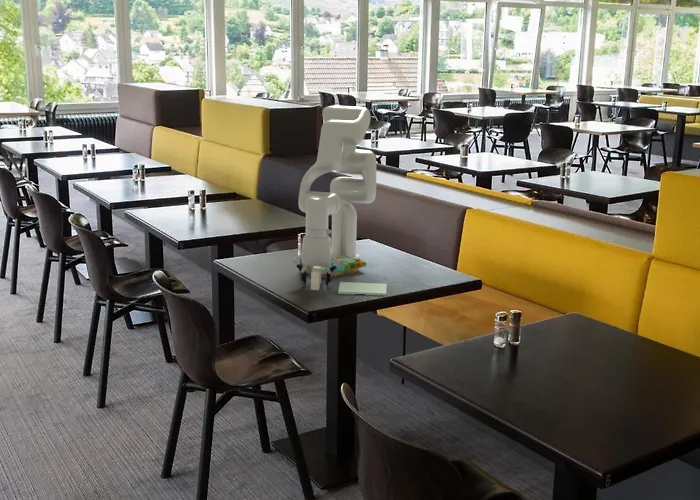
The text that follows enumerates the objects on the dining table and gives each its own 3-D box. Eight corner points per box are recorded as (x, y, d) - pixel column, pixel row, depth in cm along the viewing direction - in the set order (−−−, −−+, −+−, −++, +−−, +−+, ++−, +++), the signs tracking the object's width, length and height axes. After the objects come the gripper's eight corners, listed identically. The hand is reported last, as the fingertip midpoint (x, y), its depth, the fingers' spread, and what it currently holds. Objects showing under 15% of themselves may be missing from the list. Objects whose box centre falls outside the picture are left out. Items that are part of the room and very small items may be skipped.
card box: (313, 282, 275) (313, 265, 273) (321, 282, 274) (321, 265, 273) (310, 290, 266) (311, 272, 264) (318, 290, 266) (319, 273, 264)
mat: (340, 284, 273) (340, 281, 272) (386, 285, 272) (386, 283, 272) (337, 293, 262) (337, 291, 262) (386, 295, 261) (386, 293, 261)
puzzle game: (302, 260, 285) (347, 253, 297) (302, 273, 286) (347, 265, 298) (321, 268, 276) (366, 260, 288) (321, 280, 277) (366, 272, 289)
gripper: (343, 231, 269) (342, 281, 273) (292, 229, 269) (292, 279, 274) (342, 236, 261) (340, 287, 266) (289, 234, 262) (289, 285, 267)
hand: (316, 283), depth 270 cm, fingers open, 7 cm apart
